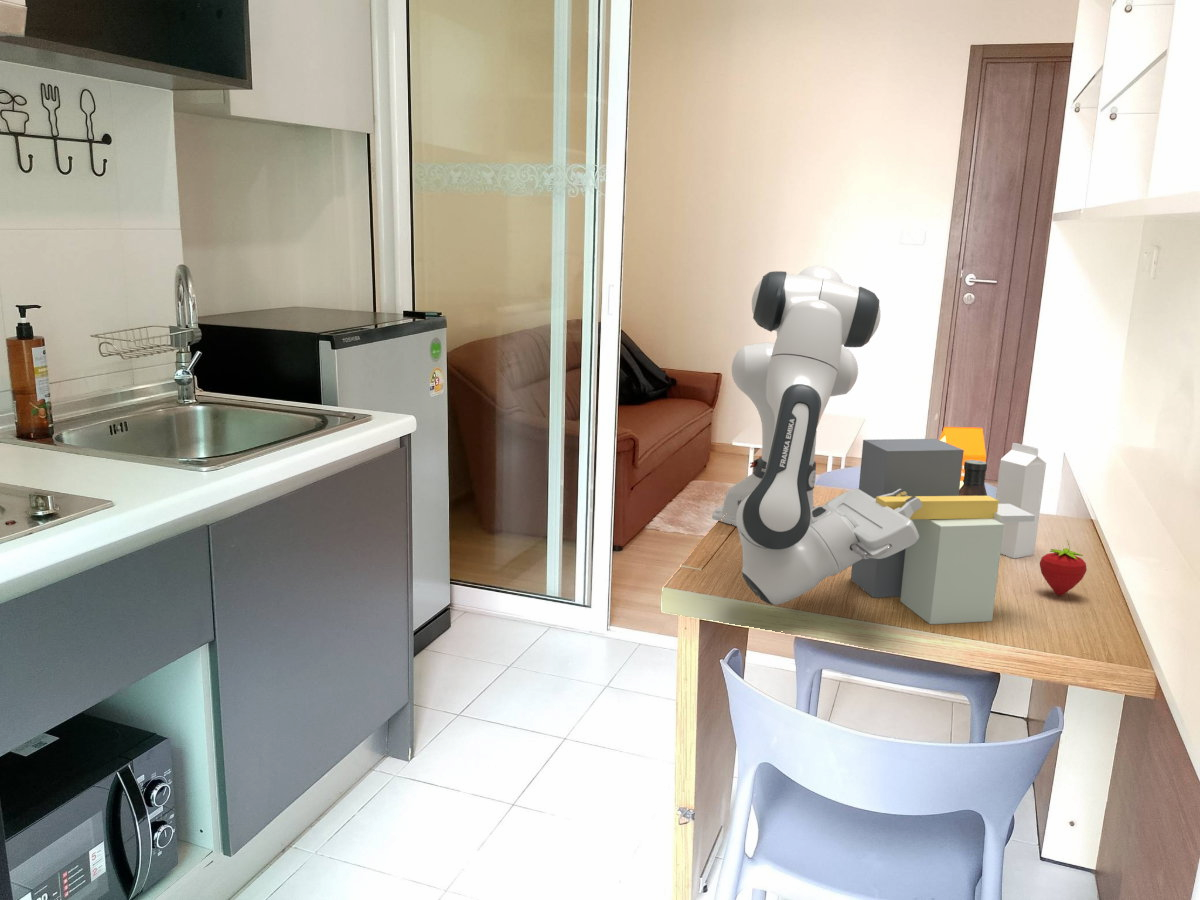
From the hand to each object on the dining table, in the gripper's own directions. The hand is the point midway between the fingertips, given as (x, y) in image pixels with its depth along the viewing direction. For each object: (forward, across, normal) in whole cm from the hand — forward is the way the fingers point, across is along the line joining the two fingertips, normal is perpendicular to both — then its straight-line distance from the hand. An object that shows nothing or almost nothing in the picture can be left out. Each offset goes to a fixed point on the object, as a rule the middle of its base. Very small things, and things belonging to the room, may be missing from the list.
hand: (911, 496), depth 154 cm
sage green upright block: (-3, 0, +21) cm, 22 cm away
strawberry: (+18, +4, +34) cm, 39 cm away
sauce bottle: (+12, +23, +30) cm, 40 cm away
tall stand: (-5, +12, +20) cm, 24 cm away
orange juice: (+26, +55, +38) cm, 72 cm away
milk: (+23, +27, +37) cm, 51 cm away
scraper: (+5, 0, +7) cm, 8 cm away
